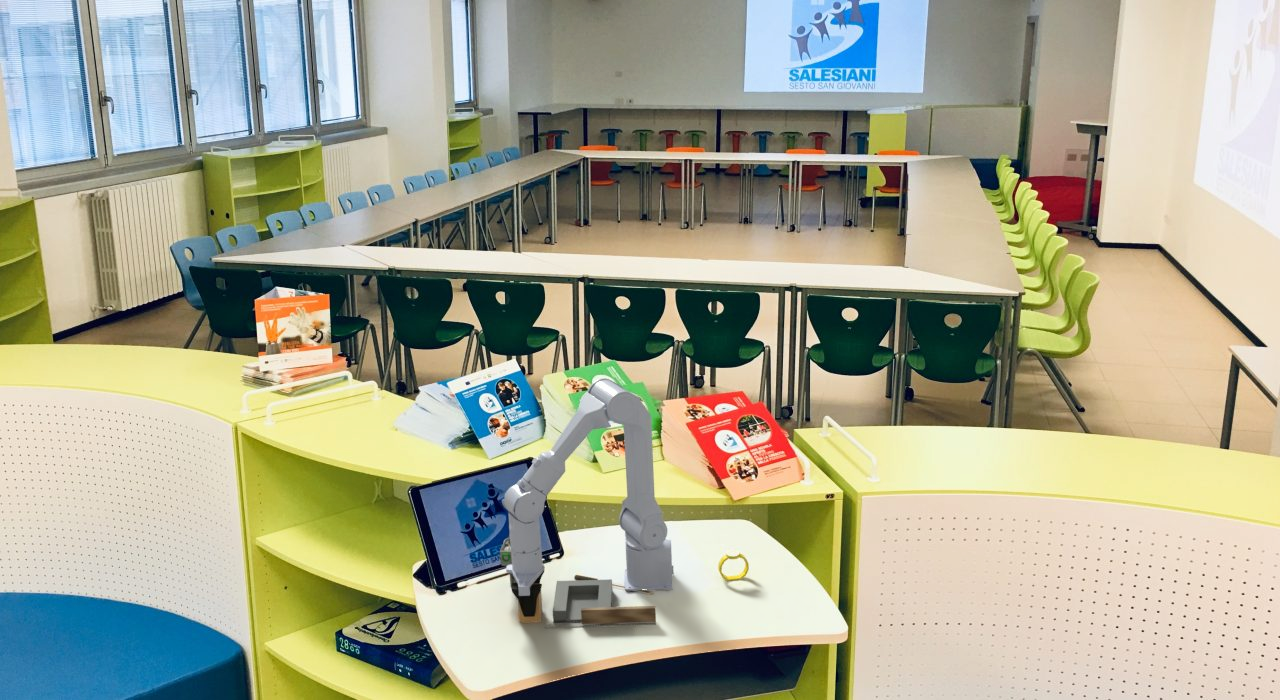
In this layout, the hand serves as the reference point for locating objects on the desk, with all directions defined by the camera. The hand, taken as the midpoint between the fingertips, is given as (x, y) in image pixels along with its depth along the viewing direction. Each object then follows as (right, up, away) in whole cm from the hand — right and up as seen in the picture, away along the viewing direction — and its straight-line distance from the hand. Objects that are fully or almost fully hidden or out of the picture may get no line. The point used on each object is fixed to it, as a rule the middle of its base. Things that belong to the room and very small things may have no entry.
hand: (530, 609), depth 210 cm
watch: (+40, +3, +12) cm, 42 cm away
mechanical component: (-4, +2, +12) cm, 13 cm away
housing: (+14, 0, +3) cm, 14 cm away
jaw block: (0, -2, 0) cm, 2 cm away
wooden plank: (+17, -2, -3) cm, 17 cm away
